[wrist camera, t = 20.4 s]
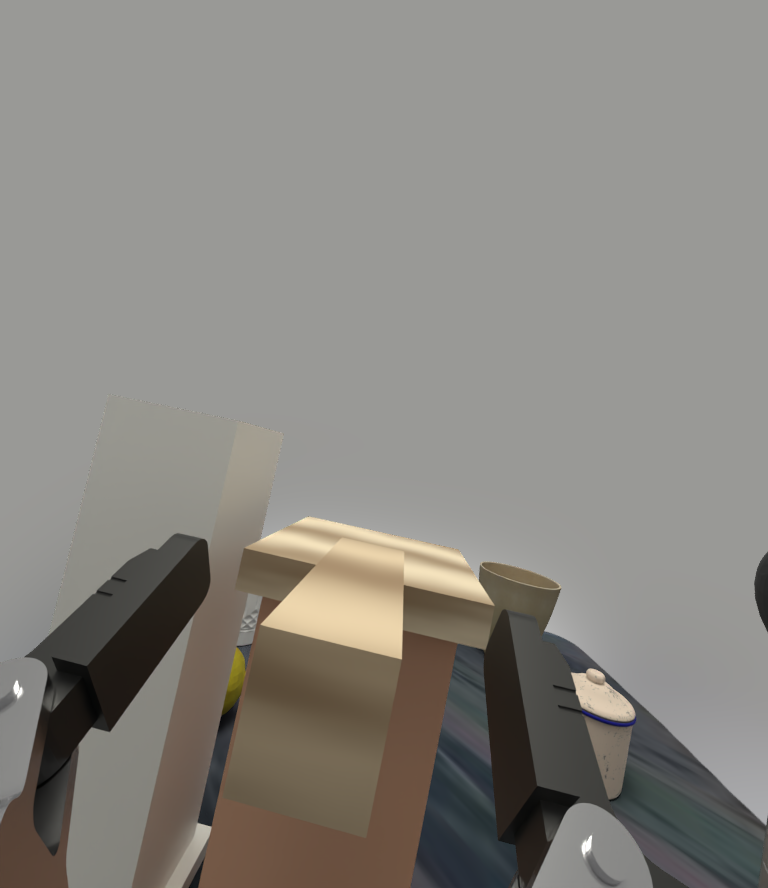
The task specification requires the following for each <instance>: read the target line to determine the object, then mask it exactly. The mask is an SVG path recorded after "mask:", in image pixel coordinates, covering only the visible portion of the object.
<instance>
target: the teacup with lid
mask: <svg viewBox="0 0 768 888" xmlns="http://www.w3.org/2000/svg"><path fill="white" fill-rule="evenodd" d="M571 674H572V677H573V681H574V684H575V687H576V695H578V698H579V701H580V704H581V708H582V716H584V718H585V721H586V725H587V728H588V731H589V735H590V738H591V742H592V745H593V748H594V752H595V755H596V759H597V762H598V765H599V769H600V772H601V775H602V779H603V782H604V786H605V789H606V792H607V796H608V799H614V798H616V797H618V796H619V795H620V793H621V790H622V785H623V779H624V773H625V767H626V761H627V755H628V749H629V743H630V737H631V731H632V725H634V724H635V722H636V716H635V711H634V709H633V707H632V705H631V704H630V703H629V702H628V701H627V700H626V699H625V698H624V697H623V696H622V695H621V694H619V693H618V692H617V691H615V690H614V689H613V688H612V687H611V686H610V685H608V684H607V683H606V682H605V676H604V675H603V674H602V673H601V672H599V671H597V670H595V669H588V670H587V673H586V674H584V673H578V674H576V673H571Z"/></svg>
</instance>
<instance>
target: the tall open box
mask: <svg viewBox="0 0 768 888" xmlns="http://www.w3.org/2000/svg"><path fill="white" fill-rule="evenodd" d="M281 602H282V601H279V600H275V599H271V598H267V597H262V601H261V606H260V610H259V615H258V619H257V624H256V628H255V633H254V637H253V642H252V646H251V651H250V655H249V660H248V665H247V669H246V674H245V678H244V683H243V687H242V692H241V696H240V701H239V705H238V710H237V714H236V719H235V723H234V728H233V732H232V737H231V742H230V746H229V751H228V755H227V760H226V764H225V769H224V773H223V778H222V782H221V787H220V791H219V796H218V800H217V805H216V809H215V814H214V819H213V823H212V828H211V832H210V837H209V841H208V846H207V850H206V855H205V859H204V864H203V868H202V873H201V877H200V882H199V886H198V888H410V886H411V880H412V875H413V870H414V865H415V860H416V855H417V849H418V844H419V839H420V834H421V829H422V823H423V818H424V813H425V808H426V803H427V798H428V792H429V787H430V782H431V777H432V772H433V767H434V761H435V756H436V751H437V746H438V741H439V736H440V730H441V725H442V720H443V715H444V710H445V704H446V699H447V694H448V689H449V684H450V679H451V673H452V668H453V663H454V658H455V653H456V648H457V643H455V642H450V641H446V640H442V639H438V638H434V637H430V636H425V635H421V634H417V633H413V632H409V631H404V630H403V634H402V662H401V667H400V672H399V677H398V682H397V687H396V692H395V697H394V702H393V707H392V712H391V717H390V722H389V727H388V732H387V737H386V742H385V747H384V752H383V757H382V762H381V767H380V772H379V777H378V782H377V787H376V792H375V797H374V802H373V807H372V812H371V817H370V822H369V826H368V831H367V836H366V838H364V837H360V836H357V835H353V834H349V833H346V832H342V831H339V830H335V829H332V828H328V827H324V826H321V825H317V824H314V823H310V822H307V821H303V820H300V819H296V818H292V817H289V816H285V815H282V814H278V813H275V812H271V811H268V810H264V809H260V808H257V807H253V806H250V805H246V804H243V803H239V802H236V801H232V800H228V799H225V798H222V796H223V791H224V787H225V782H226V778H227V773H228V769H229V764H230V760H231V755H232V751H233V746H234V742H235V737H236V732H237V728H238V723H239V719H240V714H241V710H242V705H243V701H244V696H245V692H246V687H247V683H248V678H249V673H250V669H251V664H252V660H253V655H254V651H255V646H256V642H257V637H258V633H259V628H260V625H261V623H262V622H263V621H264V620H265V619H266V618H267V617H268V616H269V615H270V614H271V613H272V612H273V611H274V610H275V608H276V607H277V606H278V605H279V604H280V603H281Z"/></svg>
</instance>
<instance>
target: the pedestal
mask: <svg viewBox="0 0 768 888" xmlns="http://www.w3.org/2000/svg"><path fill="white" fill-rule="evenodd" d="M283 435H284V434H283V433H280V432H276V431H273V430H269V429H266V428H262V427H259V426H255V425H252V424H248V423H245V422H241V421H237V420H233V419H228V418H222V417H218V416H213V415H208V414H204V413H198V412H193V411H189V410H184V409H179V408H174V407H170V406H164V405H159V404H155V403H150V402H145V401H140V400H135V399H130V398H125V397H121V396H116V395H111V394H108V398H107V402H106V406H105V410H104V414H103V418H102V422H101V426H100V430H99V434H98V438H97V442H96V446H95V450H94V454H93V458H92V462H91V466H90V470H89V474H88V479H87V482H86V486H85V490H84V494H83V498H82V503H81V507H80V511H79V515H78V519H77V523H76V527H75V531H74V535H73V539H72V543H71V547H70V551H69V555H68V559H67V563H66V567H65V571H64V575H63V579H62V583H61V587H60V591H59V595H58V599H57V603H56V607H55V611H54V615H53V619H52V623H51V628H50V631H49V635H50V634H51V633H52V632H53V631H54V630H55V629H56V628H57V627H58V626H59V625H60V624H62V623H63V622H64V621H65V620H66V619H67V618H68V617H69V616H70V615H71V614H72V613H73V612H74V611H75V610H76V609H77V608H78V607H80V606H81V605H82V604H83V603H84V602H85V601H86V600H87V599H88V598H89V597H90V596H91V595H92V594H95V593H96V592H97V590H98V589H99V588H100V587H101V586H102V585H103V584H104V583H105V582H106V581H107V580H110V579H111V576H112V575H113V574H114V573H116V572H117V571H118V570H119V569H120V568H121V567H122V566H123V565H124V564H125V563H126V562H127V561H128V560H130V559H132V558H133V557H135V556H137V555H139V554H141V553H143V552H144V551H146V550H148V549H150V548H152V549H157V550H158V549H159V548H160V547H161V546H162V545H163V544H164V543H165V542H166V541H167V540H168V539H169V538H170V537H171V536H172V535H174V534H176V533H181V534H185V535H189V536H194V537H198V538H202V539H205V540H206V541H207V543H208V553H209V565H210V576H211V581H210V587H209V590H208V593H207V595H206V597H205V599H204V601H203V603H202V604H201V605H200V607H199V608H198V610H197V611H196V612H195V614H194V615H193V617H192V618H191V619H190V621H189V622H188V624H187V625H186V626H185V628H184V629H183V631H182V632H181V633H180V635H179V636H178V638H177V639H176V640H175V642H174V643H173V645H172V646H171V647H170V649H169V650H168V652H167V653H166V654H165V656H164V657H163V659H162V660H161V661H160V663H159V664H158V666H157V667H156V668H155V670H154V671H153V673H152V674H151V675H150V677H149V678H148V680H147V681H146V682H145V684H144V685H143V687H142V688H141V689H140V691H139V692H138V694H137V695H136V696H135V698H134V699H133V701H132V702H131V703H130V705H129V706H128V708H127V709H126V710H125V712H124V713H123V715H122V716H121V717H120V719H119V720H118V722H117V723H116V724H115V726H114V727H113V729H112V730H111V731H110V732H107V731H103V730H99V729H96V728H92V727H91V729H90V730H89V731H88V733H87V734H86V735H85V737H84V738H83V739H82V741H81V742H80V743H79V755H78V764H77V772H76V780H75V788H74V796H73V804H72V812H71V821H70V829H69V837H68V845H67V855H66V870H67V878H68V888H189V886H190V884H191V882H192V880H193V878H194V876H195V874H196V873H197V871H198V869H199V867H200V865H201V863H202V861H203V859H204V857H205V855H206V850H207V846H208V841H209V837H210V832H211V828H212V827H210V826H206V825H203V824H199V823H197V821H198V817H199V812H200V808H201V803H202V799H203V795H204V790H205V786H206V781H207V777H208V772H209V768H210V763H211V759H212V754H213V750H214V745H215V741H216V736H217V732H218V727H219V723H220V718H221V714H222V709H223V705H224V700H225V696H226V691H227V687H228V682H229V678H230V673H231V669H232V664H233V660H234V655H235V651H236V646H237V642H238V637H239V633H240V628H241V624H242V619H243V615H244V611H245V606H246V602H247V597H248V593H246V592H242V591H237V590H235V585H236V581H237V576H238V572H239V567H240V563H241V559H242V554H243V550H244V548H245V547H247V546H249V545H251V544H253V543H255V542H257V541H259V540H260V539H261V534H262V530H263V525H264V521H265V516H266V512H267V507H268V503H269V498H270V494H271V489H272V485H273V480H274V476H275V471H276V467H277V462H278V458H279V453H280V449H281V444H282V440H283ZM49 635H48V636H49Z"/></svg>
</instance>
